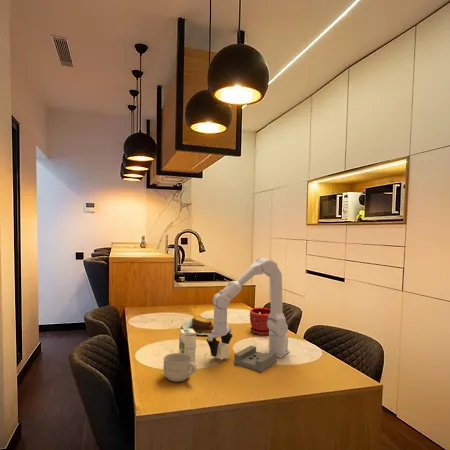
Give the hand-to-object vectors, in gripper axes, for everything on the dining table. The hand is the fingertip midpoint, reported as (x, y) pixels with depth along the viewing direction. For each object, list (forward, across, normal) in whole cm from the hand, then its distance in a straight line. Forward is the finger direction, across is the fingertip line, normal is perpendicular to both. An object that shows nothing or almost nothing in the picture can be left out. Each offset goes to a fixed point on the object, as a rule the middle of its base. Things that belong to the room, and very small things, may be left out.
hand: (219, 353), depth 144 cm
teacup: (+3, +24, 0) cm, 24 cm away
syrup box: (+3, +14, -6) cm, 16 cm away
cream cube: (+3, 0, 0) cm, 3 cm away
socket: (+3, -7, +14) cm, 16 cm away
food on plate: (+3, -28, -31) cm, 42 cm away
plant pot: (+3, -43, -4) cm, 43 cm away
